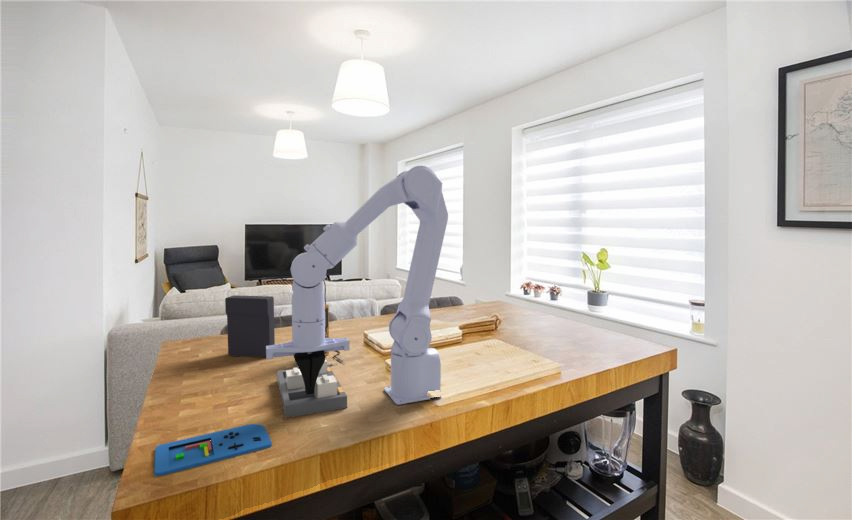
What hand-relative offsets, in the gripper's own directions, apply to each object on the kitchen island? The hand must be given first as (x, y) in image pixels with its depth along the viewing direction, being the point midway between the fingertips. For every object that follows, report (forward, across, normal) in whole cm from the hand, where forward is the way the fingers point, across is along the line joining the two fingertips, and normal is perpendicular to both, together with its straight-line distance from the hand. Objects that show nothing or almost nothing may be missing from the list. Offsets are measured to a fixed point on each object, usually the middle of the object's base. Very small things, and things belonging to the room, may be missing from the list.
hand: (309, 392), depth 76 cm
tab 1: (+2, +2, -6) cm, 6 cm away
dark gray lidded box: (+3, +9, -36) cm, 37 cm away
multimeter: (+3, -9, -25) cm, 27 cm away
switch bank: (+3, -1, -6) cm, 7 cm away
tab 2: (+2, -3, -12) cm, 13 cm away
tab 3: (+2, -3, 0) cm, 3 cm away
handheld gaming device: (+3, +15, +9) cm, 18 cm away
